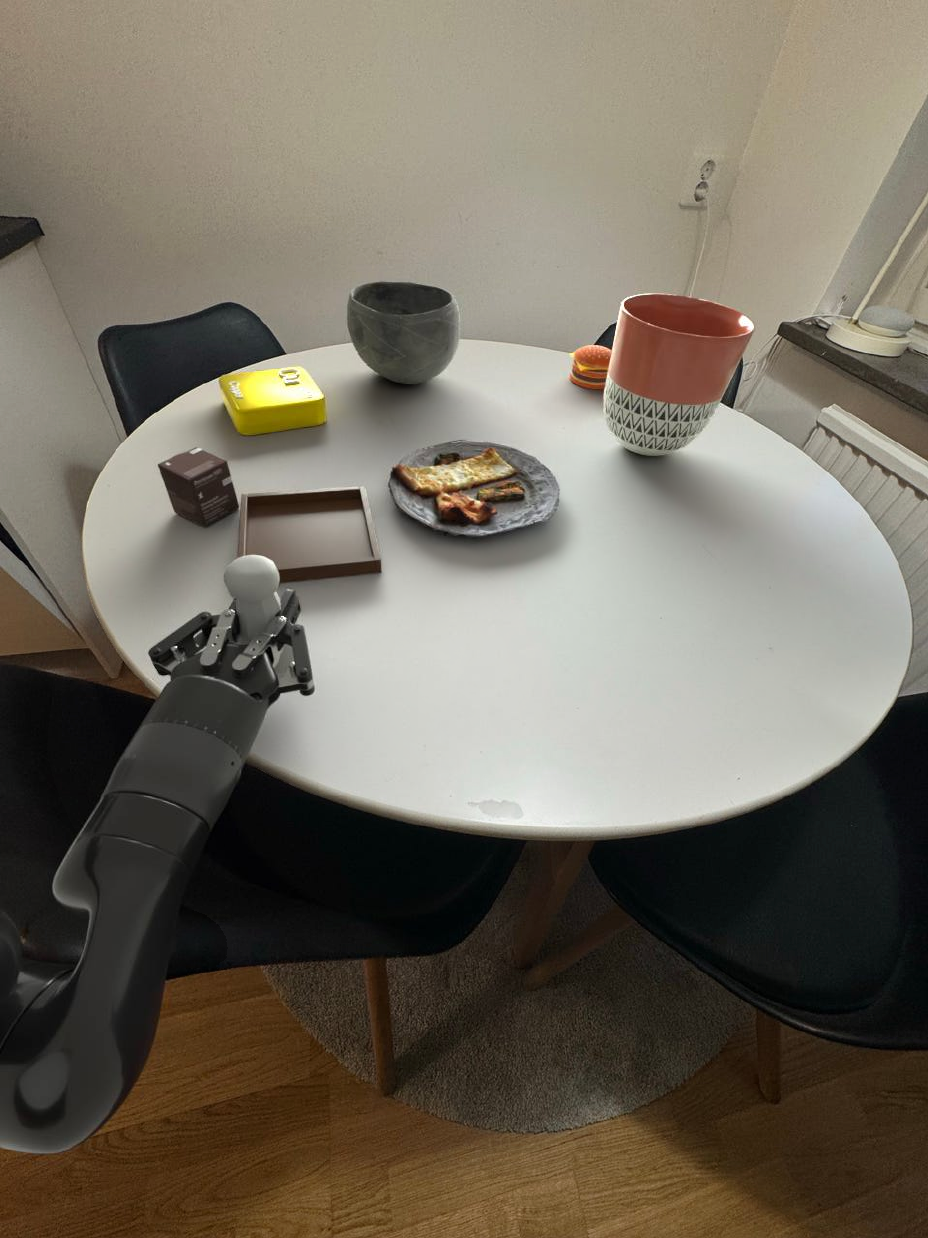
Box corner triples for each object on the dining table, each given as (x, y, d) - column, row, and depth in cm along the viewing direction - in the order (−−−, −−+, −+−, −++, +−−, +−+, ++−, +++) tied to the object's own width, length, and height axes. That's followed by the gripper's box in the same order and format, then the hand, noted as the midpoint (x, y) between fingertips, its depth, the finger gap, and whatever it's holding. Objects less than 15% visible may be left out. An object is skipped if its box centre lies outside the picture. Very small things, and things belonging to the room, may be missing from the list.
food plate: (424, 561, 70) (425, 539, 67) (367, 469, 84) (366, 448, 82) (585, 522, 79) (591, 501, 76) (508, 445, 93) (511, 426, 90)
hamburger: (619, 390, 113) (628, 356, 108) (575, 390, 111) (583, 356, 107) (604, 371, 119) (612, 339, 115) (562, 371, 118) (569, 338, 113)
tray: (240, 587, 64) (236, 573, 63) (244, 507, 75) (241, 493, 74) (381, 572, 68) (381, 559, 66) (365, 498, 79) (364, 485, 77)
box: (204, 529, 71) (188, 480, 66) (173, 513, 73) (155, 463, 68) (241, 508, 75) (228, 460, 70) (210, 493, 77) (196, 445, 72)
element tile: (222, 399, 97) (215, 371, 94) (305, 388, 102) (302, 362, 99) (239, 438, 88) (232, 409, 85) (330, 424, 93) (327, 396, 90)
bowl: (346, 358, 114) (339, 275, 103) (444, 356, 119) (448, 277, 108) (356, 402, 100) (350, 312, 89) (468, 398, 105) (475, 312, 94)
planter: (623, 482, 87) (669, 340, 72) (569, 425, 100) (598, 294, 84) (722, 469, 93) (784, 334, 77) (659, 417, 105) (701, 292, 90)
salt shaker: (317, 662, 55) (301, 562, 45) (275, 700, 51) (247, 600, 42) (275, 637, 57) (251, 536, 47) (231, 671, 53) (195, 570, 44)
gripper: (277, 741, 36) (345, 572, 48) (68, 712, 36) (188, 551, 48) (293, 795, 41) (350, 631, 53) (111, 769, 41) (209, 611, 54)
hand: (273, 594), depth 51 cm, fingers closed on salt shaker, 3 cm apart
